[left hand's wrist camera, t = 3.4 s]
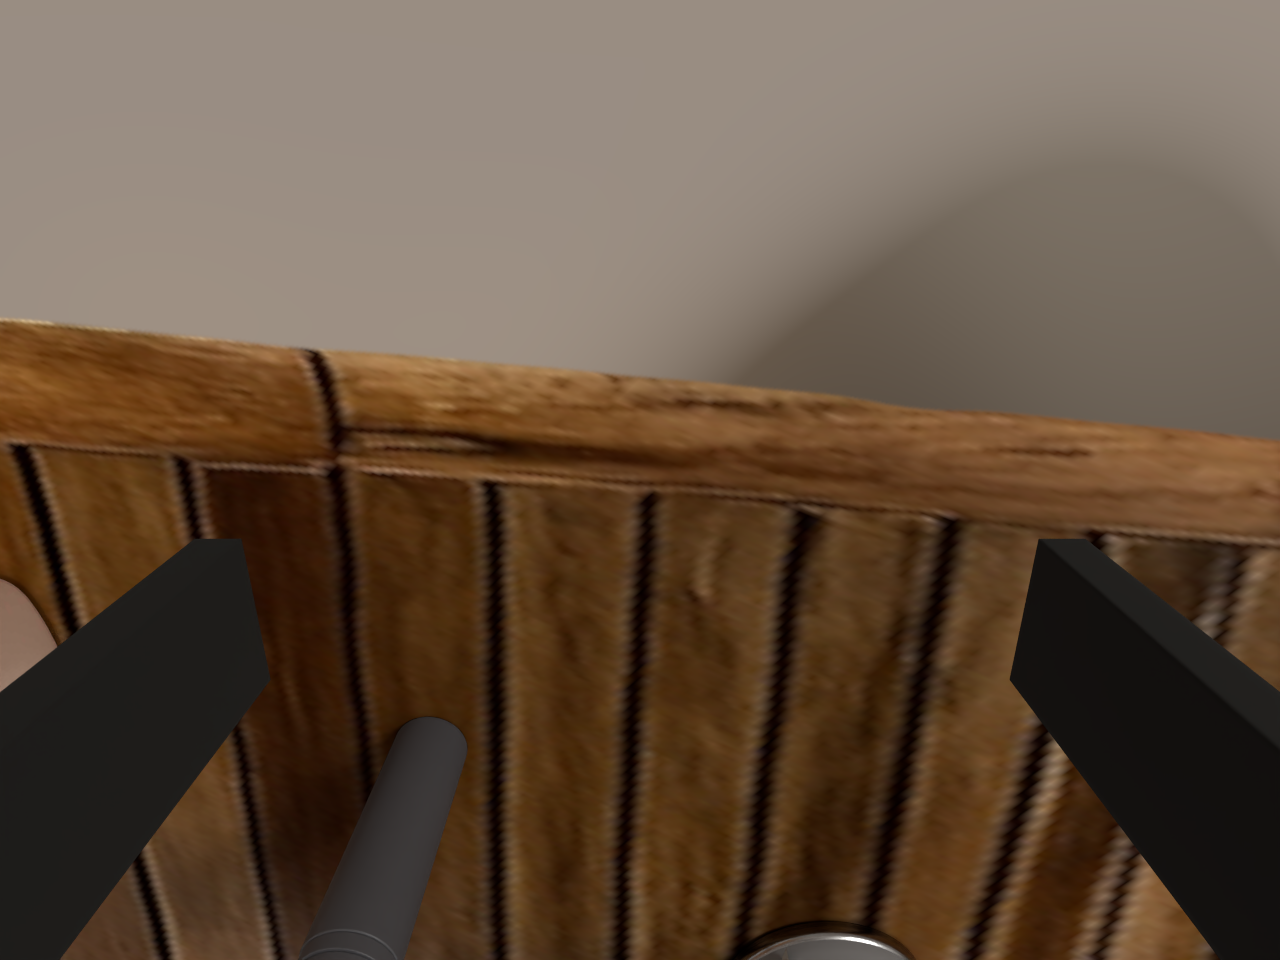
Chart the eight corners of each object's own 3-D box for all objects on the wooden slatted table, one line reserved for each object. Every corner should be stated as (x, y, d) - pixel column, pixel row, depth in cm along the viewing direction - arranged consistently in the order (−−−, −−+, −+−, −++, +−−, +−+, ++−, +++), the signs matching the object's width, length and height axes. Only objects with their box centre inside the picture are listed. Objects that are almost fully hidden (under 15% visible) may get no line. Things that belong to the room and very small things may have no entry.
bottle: (468, 719, 48) (348, 1094, 28) (466, 777, 49) (350, 1170, 30) (395, 712, 48) (221, 1085, 28) (395, 770, 49) (230, 1162, 29)
